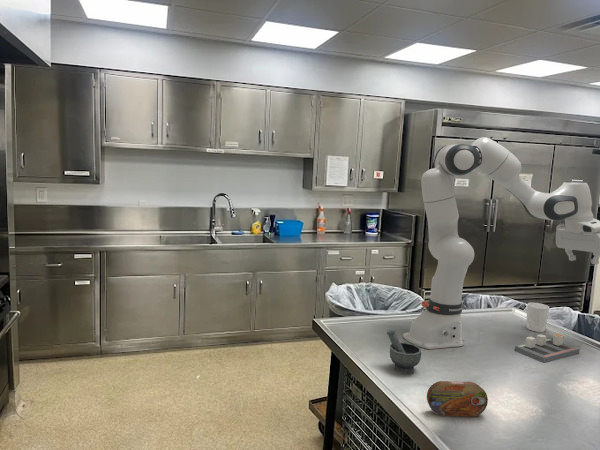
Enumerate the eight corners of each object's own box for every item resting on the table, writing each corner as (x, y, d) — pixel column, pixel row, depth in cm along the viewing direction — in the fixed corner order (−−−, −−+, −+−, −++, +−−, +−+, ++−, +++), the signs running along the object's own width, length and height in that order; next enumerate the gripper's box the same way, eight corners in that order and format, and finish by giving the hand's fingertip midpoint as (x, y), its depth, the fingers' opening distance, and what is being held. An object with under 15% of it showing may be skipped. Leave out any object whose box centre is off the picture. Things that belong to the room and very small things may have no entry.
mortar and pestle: (423, 368, 142) (426, 331, 140) (415, 379, 134) (418, 340, 132) (389, 359, 148) (392, 323, 146) (379, 369, 139) (381, 332, 138)
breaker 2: (541, 345, 160) (542, 337, 160) (535, 343, 162) (536, 335, 162) (545, 344, 161) (546, 336, 161) (540, 342, 163) (541, 334, 163)
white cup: (541, 326, 187) (544, 303, 186) (550, 333, 179) (552, 309, 178) (521, 325, 188) (524, 302, 187) (529, 331, 180) (532, 307, 179)
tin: (427, 415, 114) (430, 384, 113) (424, 409, 117) (426, 378, 116) (486, 418, 114) (489, 386, 113) (481, 411, 117) (484, 380, 116)
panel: (544, 362, 150) (544, 358, 150) (514, 350, 160) (515, 346, 160) (578, 353, 160) (579, 348, 160) (549, 342, 169) (549, 338, 169)
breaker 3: (558, 345, 161) (559, 336, 161) (552, 343, 163) (553, 334, 162) (562, 344, 162) (563, 335, 162) (556, 342, 164) (558, 333, 163)
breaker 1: (530, 348, 157) (531, 339, 157) (525, 346, 159) (526, 337, 159) (534, 347, 159) (535, 338, 158) (529, 345, 160) (530, 336, 160)
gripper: (549, 224, 172) (553, 260, 173) (598, 228, 152) (602, 268, 154) (562, 221, 173) (566, 256, 175) (612, 224, 154) (616, 264, 155)
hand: (583, 262), depth 164 cm, fingers open, 8 cm apart
